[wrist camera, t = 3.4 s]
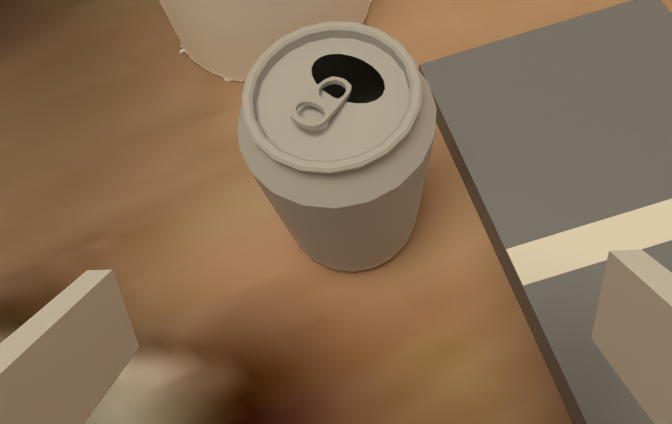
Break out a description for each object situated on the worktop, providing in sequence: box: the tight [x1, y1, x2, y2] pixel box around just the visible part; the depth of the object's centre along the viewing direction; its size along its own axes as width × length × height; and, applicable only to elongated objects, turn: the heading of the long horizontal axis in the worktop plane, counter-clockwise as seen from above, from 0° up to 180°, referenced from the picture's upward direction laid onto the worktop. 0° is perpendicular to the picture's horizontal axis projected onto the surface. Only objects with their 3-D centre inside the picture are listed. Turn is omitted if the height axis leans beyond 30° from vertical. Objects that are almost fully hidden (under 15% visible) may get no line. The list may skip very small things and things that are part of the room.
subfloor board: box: [419, 0, 672, 424], centre depth 23 cm, size 24×16×2 cm, turn 16°
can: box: [237, 21, 437, 272], centre depth 19 cm, size 8×8×12 cm
